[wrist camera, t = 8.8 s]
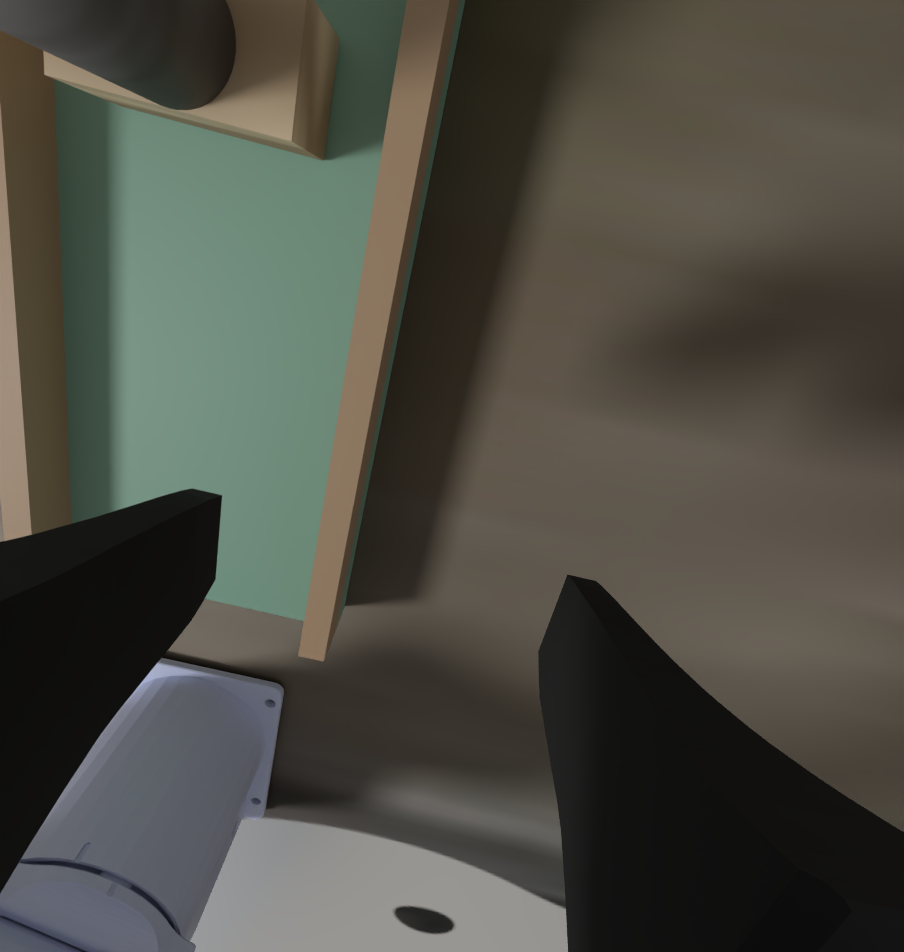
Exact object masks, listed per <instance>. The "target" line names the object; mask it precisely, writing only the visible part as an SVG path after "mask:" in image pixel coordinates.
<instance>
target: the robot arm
mask: <svg viewBox="0 0 904 952" xmlns="http://www.w3.org/2000/svg"><path fill="white" fill-rule="evenodd" d="M221 504H222V495H219V494H215V493H210V492H206V491H201V490H197V489H193V488H191V489H187V490H182V491H178V492H174V493H171V494H167V495H164V496H161V497H158V498H154V499H151V500H148V501H145V502H142V503H139V504H135V505H132V506H129V507H126V508H123V509H119V510H116V511H113V512H110V513H107V514H104V515H100V516H97V517H94V518H90V519H87V520H83V521H80V522H76V523H72V524H69V525H65V526H62V527H58V528H54V529H51V530H47V531H44V532H40V533H36V534H32V535H28V536H24V537H20V538H16V539H12V540H7V541H3V542H0V952H194V951H195V948H196V946H195V944H194V943H192V942H190V940H191V938H192V936H193V934H194V932H195V930H196V928H197V925H198V923H199V920H200V918H201V916H202V913H203V911H204V908H205V906H206V904H207V901H208V899H209V896H210V894H211V892H212V889H213V887H214V884H215V882H216V880H217V877H218V875H219V872H220V870H221V868H222V865H223V863H224V861H225V858H226V856H227V853H228V851H229V848H230V846H231V844H232V841H233V839H234V837H235V834H236V832H237V829H238V827H239V825H240V822H241V820H242V818H243V817H245V818H249V819H260V818H262V817H263V815H264V812H265V810H266V804H267V797H268V791H269V785H270V778H271V772H272V766H273V759H274V753H275V747H276V740H277V734H278V728H279V721H280V715H281V709H282V702H283V696H284V689H283V688H282V686H281V685H279V684H278V683H275V682H270V681H266V680H261V679H257V678H252V677H247V676H243V675H238V674H234V673H229V672H225V671H220V670H215V669H211V668H206V667H202V666H197V665H192V664H188V663H183V662H179V661H174V660H170V659H165V658H162V657H163V655H164V654H165V653H166V652H167V650H168V649H169V648H170V647H171V645H172V644H173V643H174V642H175V640H176V639H177V638H178V637H179V635H180V634H181V633H182V632H183V630H184V629H185V628H186V626H187V625H188V624H189V623H190V621H191V620H192V618H193V617H194V615H195V614H196V612H197V610H198V609H199V607H200V605H201V604H202V602H203V601H204V599H205V597H206V595H207V594H208V592H209V590H210V588H211V587H212V585H213V583H214V582H215V580H216V568H217V555H218V542H219V530H220V517H221ZM539 689H540V701H541V707H542V714H543V720H544V726H545V732H546V738H547V744H548V750H549V756H550V761H551V767H552V773H553V779H554V785H555V791H556V797H557V803H558V810H559V818H560V826H561V836H562V851H563V865H564V880H565V897H566V915H567V937H568V952H904V832H902V831H901V830H899V829H897V828H896V827H894V826H892V825H891V824H889V823H888V822H886V821H884V820H883V819H881V818H880V817H878V816H876V815H875V814H873V813H872V812H870V811H868V810H867V809H865V808H864V807H862V806H860V805H859V804H857V803H856V802H854V801H853V800H851V799H849V798H848V797H846V796H845V795H843V794H841V793H840V792H838V791H837V790H835V789H834V788H832V787H831V786H829V785H828V784H826V783H825V782H824V781H822V780H821V779H819V778H818V777H816V776H815V775H813V774H812V773H810V772H809V771H807V770H806V769H805V768H803V767H802V766H800V765H799V764H798V763H796V762H795V761H793V760H792V759H791V758H789V757H788V756H787V755H785V754H784V753H782V752H781V751H780V750H778V749H777V748H775V747H774V746H773V745H771V744H770V743H769V742H767V741H766V740H765V739H763V738H762V737H761V736H759V735H758V734H757V733H756V732H754V731H753V730H752V729H750V728H749V727H748V726H747V725H745V724H744V723H743V722H742V721H741V720H739V719H738V718H737V717H736V716H735V715H733V714H732V713H731V712H730V711H728V710H727V709H726V708H725V707H724V706H722V705H721V704H720V703H719V702H718V701H716V700H715V699H714V698H713V697H712V696H711V695H710V694H708V693H707V692H706V691H705V690H704V689H703V688H702V687H701V686H700V685H698V684H697V683H696V682H695V681H694V680H693V679H692V678H691V677H690V676H689V675H688V674H687V673H686V672H685V671H684V670H683V669H682V668H680V667H679V666H678V665H677V664H676V663H675V662H674V661H673V660H672V659H671V658H670V657H669V656H668V655H667V654H666V653H665V652H664V651H663V650H662V649H661V648H660V647H659V646H658V645H657V644H656V643H655V642H654V641H653V640H652V638H651V637H650V636H649V635H648V634H647V633H646V632H645V631H644V630H643V629H642V628H641V627H640V626H639V625H638V624H637V623H636V622H635V621H634V619H633V618H632V617H631V616H630V615H629V614H628V613H627V612H626V611H625V610H624V609H623V608H622V607H621V606H620V604H619V603H618V602H617V601H616V600H615V599H614V598H613V597H612V596H611V595H610V594H609V593H608V592H607V591H606V590H605V589H604V588H603V587H602V586H601V585H600V584H599V583H597V582H596V581H593V580H589V579H584V578H580V577H576V576H571V575H567V577H566V580H565V583H564V585H563V588H562V591H561V593H560V596H559V599H558V601H557V604H556V607H555V609H554V612H553V614H552V617H551V620H550V622H549V625H548V628H547V630H546V633H545V636H544V638H543V641H542V644H541V646H540V649H539ZM269 699H270V700H273V701H270V700H269Z"/></svg>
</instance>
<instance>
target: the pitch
mask: <svg viewBox="0 0 904 952" xmlns="http://www.w3.org/2000/svg"><path fill="white" fill-rule="evenodd" d="M315 2H316V3H317V5H318V6H319V8H320V10H321V11H322V13H323V14H324V16H325V17H326V19H327V20H328V22H329V23H330V25H331V27H332V28H333V30H334V31H335V33H336V34H337V36H338V37H339V39H340V40H339V48H338V56H337V63H336V71H335V79H334V86H333V94H332V102H331V109H330V117H329V125H328V132H327V140H326V148H325V156H324V161H322V160H319V159H315V158H311V157H307V156H304V155H300V154H296V153H293V152H289V151H285V150H281V149H278V148H274V147H270V146H267V145H263V144H259V143H255V142H252V141H248V140H244V139H241V138H237V137H233V136H229V135H226V134H222V133H218V132H214V131H211V130H207V129H203V128H200V127H196V126H192V125H188V124H185V123H181V122H177V121H174V120H170V119H166V118H162V117H159V116H155V115H151V114H147V113H144V112H140V111H136V110H133V109H129V108H125V107H121V106H119V105H116V104H114V103H112V102H109V101H107V100H104V99H102V98H100V97H97V96H95V95H92V94H90V93H87V92H85V91H83V90H80V89H78V88H75V87H73V86H70V85H68V84H66V83H63V82H61V81H58V80H56V79H53V78H51V77H49V76H46V75H44V54H43V50H41V49H39V48H37V47H35V46H32V45H30V44H28V43H26V42H24V41H22V40H20V39H17V38H15V37H13V36H11V35H9V34H7V33H5V32H2V31H0V500H1V511H2V521H3V532H4V541H7V540H12V539H16V538H20V537H24V536H28V535H32V534H36V533H40V532H44V531H47V530H51V529H54V528H58V527H62V526H65V525H69V524H72V523H76V522H80V521H83V520H87V519H90V518H94V517H97V516H100V515H104V514H107V513H110V512H113V511H116V510H119V509H123V508H126V507H129V506H132V505H135V504H139V503H142V502H145V501H148V500H151V499H154V498H158V497H161V496H164V495H167V494H171V493H174V492H178V491H182V490H187V489H191V488H193V489H197V490H201V491H206V492H210V493H215V494H219V495H222V504H221V517H220V530H219V542H218V555H217V568H216V580H215V582H214V583H213V585H212V587H211V588H210V590H209V592H208V594H207V595H206V597H205V599H208V600H213V601H217V602H222V603H226V604H230V605H235V606H239V607H244V608H248V609H253V610H257V611H262V612H266V613H270V614H275V615H279V616H284V617H288V618H293V619H297V620H302V621H304V624H303V630H302V636H301V642H300V648H299V654H298V656H301V657H305V658H310V659H314V660H319V661H323V662H324V660H325V657H326V654H327V652H328V649H329V646H330V644H331V641H332V638H333V636H334V633H335V631H336V628H337V625H338V623H339V620H340V617H341V615H342V612H343V609H344V607H345V602H346V597H347V592H348V587H349V582H350V577H351V572H352V567H353V562H354V557H355V552H356V547H357V542H358V537H359V532H360V527H361V522H362V517H363V512H364V507H365V501H366V496H367V491H368V486H369V481H370V476H371V471H372V466H373V461H374V456H375V451H376V446H377V441H378V436H379V431H380V426H381V421H382V416H383V411H384V406H385V401H386V396H387V391H388V386H389V381H390V376H391V371H392V366H393V361H394V356H395V351H396V346H397V341H398V336H399V331H400V326H401V321H402V316H403V311H404V306H405V301H406V296H407V291H408V286H409V281H410V276H411V271H412V266H413V261H414V256H415V251H416V246H417V241H418V236H419V231H420V226H421V221H422V216H423V211H424V206H425V201H426V195H427V190H428V185H429V180H430V175H431V170H432V165H433V160H434V155H435V150H436V145H437V140H438V135H439V130H440V125H441V120H442V115H443V110H444V105H445V100H446V95H447V90H448V85H449V80H450V75H451V70H452V65H453V60H454V55H455V50H456V45H457V40H458V35H459V30H460V25H461V20H462V15H463V10H464V5H465V0H315Z"/></svg>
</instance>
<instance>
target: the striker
mask: <svg viewBox="0 0 904 952" xmlns="http://www.w3.org/2000/svg"><path fill="white" fill-rule="evenodd" d="M0 31H2V32H5V33H7V34H9V35H11V36H13V37H15V38H17V39H20V40H22V41H24V42H26V43H28V44H30V45H32V46H35V47H37V48H39V49H41V50H43V54H44V75H46V76H49V77H51V78H53V79H56V80H58V81H61V82H63V83H66V84H68V85H70V86H73V87H75V88H78V89H80V90H83V91H85V92H87V93H90V94H92V95H95V96H97V97H100V98H102V99H104V100H107V101H109V102H112V103H114V104H116V105H119V106H121V107H125V108H129V109H133V110H136V111H140V112H144V113H147V114H151V115H155V116H159V117H162V118H166V119H170V120H174V121H177V122H181V123H185V124H188V125H192V126H196V127H200V128H203V129H207V130H211V131H214V132H218V133H222V134H226V135H229V136H233V137H237V138H241V139H244V140H248V141H252V142H255V143H259V144H263V145H267V146H270V147H274V148H278V149H281V150H285V151H289V152H293V153H296V154H300V155H304V156H307V157H311V158H315V159H319V160H322V161H324V156H325V148H326V140H327V132H328V125H329V117H330V109H331V102H332V94H333V86H334V79H335V71H336V63H337V56H338V48H339V40H340V39H339V37H338V36H337V34H336V33H335V31H334V30H333V28H332V27H331V25H330V23H329V22H328V20H327V19H326V17H325V16H324V14H323V13H322V11H321V10H320V8H319V6H318V5H317V3H316V2H315V0H0Z"/></svg>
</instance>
